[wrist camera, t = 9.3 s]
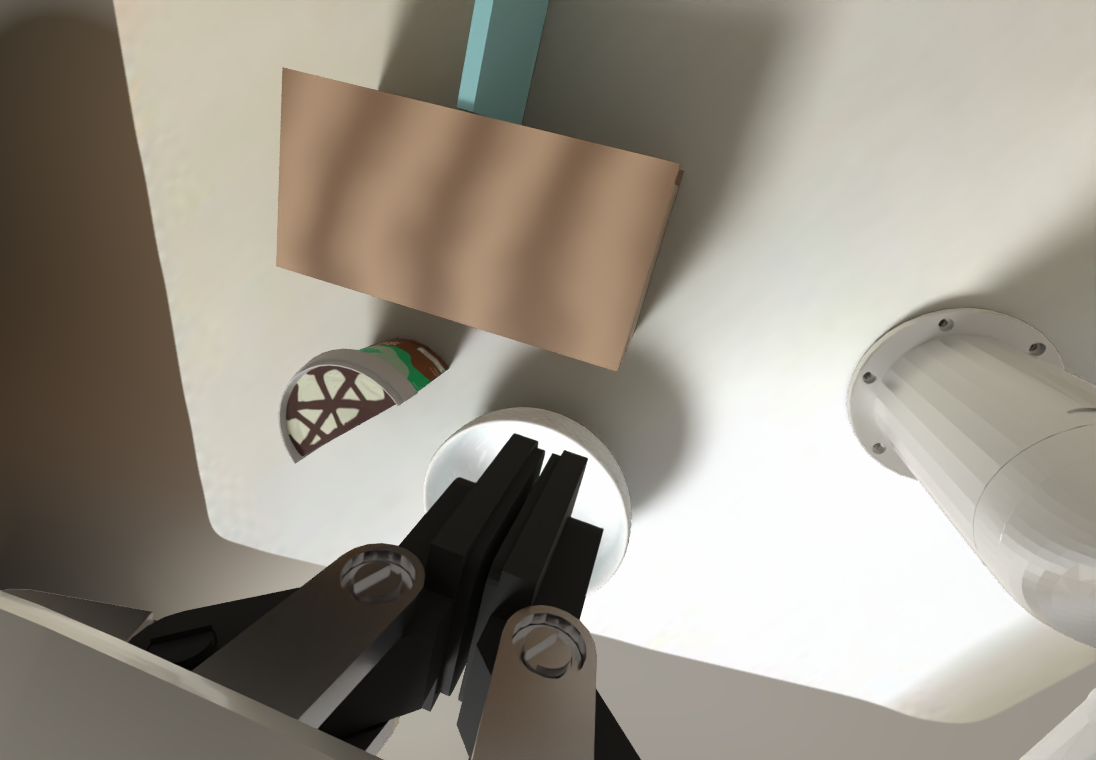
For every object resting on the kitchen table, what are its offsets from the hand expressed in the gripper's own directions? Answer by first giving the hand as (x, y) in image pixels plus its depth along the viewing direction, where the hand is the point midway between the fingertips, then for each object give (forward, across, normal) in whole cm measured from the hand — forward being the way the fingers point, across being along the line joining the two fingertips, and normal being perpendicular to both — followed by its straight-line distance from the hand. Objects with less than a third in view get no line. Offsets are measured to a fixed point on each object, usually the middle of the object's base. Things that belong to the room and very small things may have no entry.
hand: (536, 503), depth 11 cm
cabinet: (+31, +12, -2) cm, 33 cm away
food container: (+31, +20, +13) cm, 39 cm away
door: (+31, +13, -14) cm, 36 cm away
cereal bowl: (+31, +4, +19) cm, 37 cm away
